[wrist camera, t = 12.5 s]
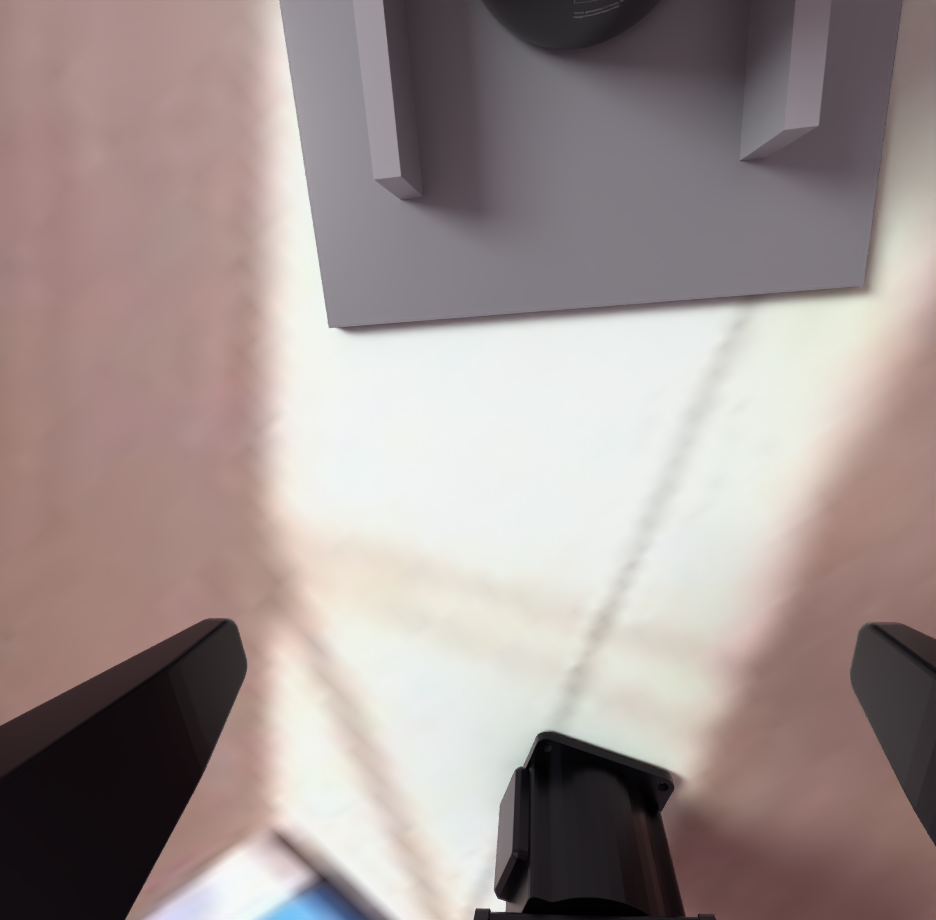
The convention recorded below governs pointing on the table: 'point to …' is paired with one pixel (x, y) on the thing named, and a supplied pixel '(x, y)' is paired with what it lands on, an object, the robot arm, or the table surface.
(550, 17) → the supplement bottle
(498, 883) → the robot arm
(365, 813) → the table surface
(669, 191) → the bottle holder
